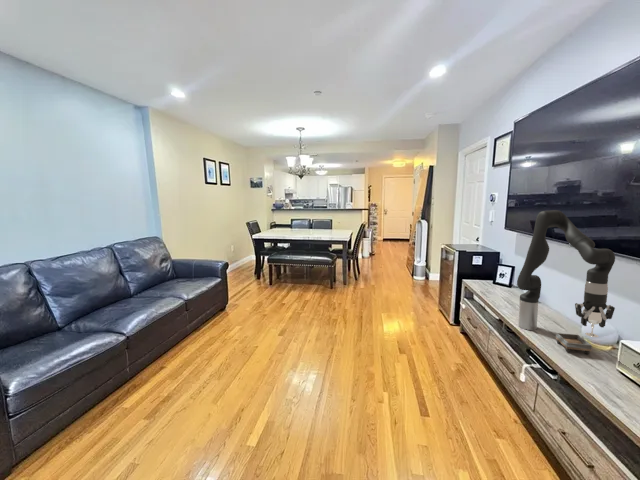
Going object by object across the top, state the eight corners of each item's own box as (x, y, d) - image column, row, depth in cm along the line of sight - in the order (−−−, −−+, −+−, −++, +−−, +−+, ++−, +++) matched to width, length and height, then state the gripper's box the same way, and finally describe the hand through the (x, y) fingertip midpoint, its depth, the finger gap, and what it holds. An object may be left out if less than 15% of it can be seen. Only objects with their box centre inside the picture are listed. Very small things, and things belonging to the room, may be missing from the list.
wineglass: (583, 335, 131) (585, 311, 129) (583, 331, 135) (585, 307, 133) (600, 339, 127) (602, 314, 125) (600, 334, 131) (602, 310, 129)
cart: (555, 342, 154) (555, 332, 153) (577, 344, 151) (578, 334, 150) (566, 353, 142) (567, 343, 142) (591, 355, 139) (591, 345, 139)
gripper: (610, 289, 129) (606, 324, 131) (572, 288, 134) (569, 321, 136) (621, 295, 122) (617, 331, 124) (581, 293, 127) (578, 328, 129)
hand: (592, 326), depth 130 cm, fingers closed on wineglass, 5 cm apart
